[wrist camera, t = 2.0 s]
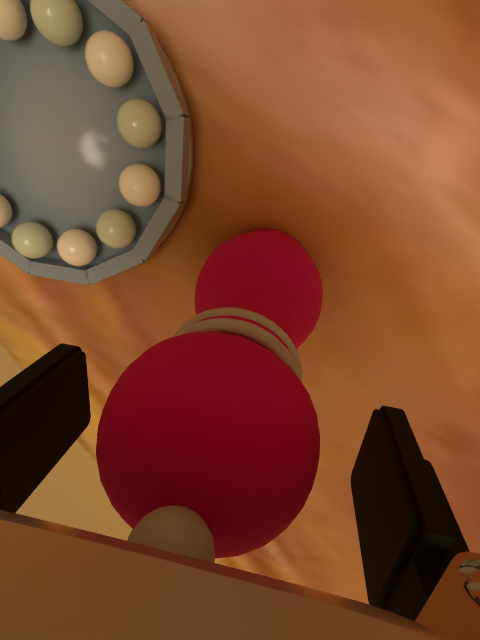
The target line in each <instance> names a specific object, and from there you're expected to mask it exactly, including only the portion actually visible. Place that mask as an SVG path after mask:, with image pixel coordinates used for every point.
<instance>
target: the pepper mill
mask: <svg viewBox="0 0 480 640" xmlns="http://www.w3.org/2000/svg"><path fill="white" fill-rule="evenodd" d="M322 293H323V291H322V282H321V279H320V275H319V272H318V270H317V268H316V266H315V264H314V262H313V261H312V259H311V258H310V256H309V255H308V254H307V252H306V251H305V249H304V248H303V247H302V245H301V244H300V243H299V242H298V241H297V240H296V239H294V238H293V237H291V236H289V235H288V234H286V233H283V232H281V231H278V230H272V229H258V230H254V231H250V232H248V233H245V234H241V235H238V236H235V237H233V238H231V239H229V240H227V241H225V242H224V243H222V244H221V245H220V246H219V247H218V248H216V249H215V250H214V251H213V252H212V254H211V255H210V256H209V257H208V259H207V261H206V262H205V264H204V266H203V268H202V270H201V272H200V274H199V276H198V280H197V284H196V291H195V311H196V315H195V316H194V317H192V318H191V319H189V320H188V321H187V322H185V323H184V324H183V325H182V326H181V327H180V328H179V330H178V331H177V332H176V334H175V336H174V337H171V338H169V339H166V340H164V341H162V342H160V343H158V344H156V345H154V346H153V347H151V348H149V349H148V350H147V351H145V352H144V353H143V354H142V355H141V356H140V357H138V358H137V359H136V360H135V361H134V362H133V363H131V364H130V365H129V367H128V368H127V369H126V370H125V371H124V372H123V373H122V375H121V376H120V378H119V379H118V381H117V382H116V384H115V385H114V387H113V389H112V390H111V392H110V394H109V396H108V399H107V401H106V404H105V406H104V408H103V411H102V415H101V418H100V422H99V425H98V433H97V445H96V457H97V463H98V469H99V474H100V480H101V483H102V485H103V487H104V489H105V491H106V493H107V496H108V498H109V500H110V502H111V504H112V506H113V507H114V508H115V510H116V511H117V512H118V514H119V515H120V516H121V518H122V519H123V520H124V521H125V522H126V523H127V524H128V525H130V527H131V528H132V529H133V530H132V532H131V533H130V535H129V538H128V540H127V541H129V542H133V543H137V544H141V545H145V546H149V547H153V548H157V549H161V550H165V551H169V552H173V553H177V554H181V555H185V556H189V557H193V558H197V559H200V560H204V561H208V562H212V563H214V561H215V558H224V557H234V556H239V555H242V554H245V553H248V552H250V551H253V550H255V549H258V548H260V547H262V546H264V545H266V544H267V543H268V542H270V541H271V540H273V539H274V538H275V537H277V536H278V535H279V534H280V533H282V532H283V531H284V530H285V529H286V528H287V527H288V526H289V525H290V524H291V522H292V521H293V520H294V519H295V517H296V516H297V515H298V513H299V512H300V511H301V510H302V508H303V507H304V505H305V502H306V500H307V498H308V496H309V494H310V492H311V490H312V486H313V483H314V479H315V476H316V472H317V467H318V462H319V454H320V434H319V427H318V420H317V414H316V411H315V409H314V406H313V403H312V401H311V398H310V395H309V393H308V392H307V390H306V388H305V387H304V385H303V384H302V382H301V378H302V367H301V361H300V358H299V355H298V353H297V350H296V349H297V348H298V347H299V346H300V345H301V344H302V343H303V342H304V341H305V340H306V338H307V337H308V336H309V334H310V333H311V332H312V330H313V329H314V327H315V325H316V323H317V321H318V318H319V315H320V311H321V305H322Z"/></svg>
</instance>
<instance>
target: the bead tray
mask: <svg viewBox="0 0 480 640" xmlns="http://www.w3.org/2000/svg"><path fill="white" fill-rule="evenodd" d="M193 169H194V136H193V127H192V120H191V116H190V111H189V107H188V103H187V99H186V96H185V93H184V90H183V87H182V85H181V82H180V79H179V77H178V75H177V73H176V70H175V68H174V66H173V64H172V62H171V60H170V58H169V56H168V55H167V53H166V52H165V50H164V48H163V47H162V45H161V44H160V42H159V40H158V38H157V36H156V33H155V31H154V29H153V28H152V27H151V25H150V24H149V23H148V22H147V21H146V20H145V19H143V18H142V17H141V16H140V15H139V14H138V13H136V12H135V11H134V10H133V9H132V8H131V7H129V6H128V5H127V4H126V3H125V2H124V1H122V0H0V254H1V255H2V256H4V257H5V258H6V259H8V260H9V261H11V262H12V263H13V264H15V265H16V266H18V267H19V268H20V269H22V270H23V271H25V272H26V273H28V274H29V273H30V275H34V276H40V277H46V278H52V279H57V280H63V281H69V282H75V283H80V284H86V285H90V284H94V283H96V282H99V281H101V280H103V279H106V278H108V277H110V276H113V275H115V274H117V273H120V272H122V271H124V270H127V269H129V268H131V267H134V266H136V265H139V264H141V263H143V262H145V261H147V260H148V259H150V258H151V257H152V256H153V255H154V253H155V251H156V250H157V248H158V247H159V246H160V245H161V244H162V243H163V242H164V241H165V240H166V239H167V237H168V236H169V235H170V233H171V232H172V231H173V229H174V228H175V226H176V224H177V222H178V220H179V219H180V217H181V215H182V213H183V210H184V207H185V205H186V202H187V200H188V196H189V192H190V188H191V184H192V178H193Z"/></svg>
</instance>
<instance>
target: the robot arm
mask: <svg viewBox="0 0 480 640" xmlns="http://www.w3.org/2000/svg"><path fill="white" fill-rule="evenodd" d="M90 418H91V414H90V402H89V390H88V377H87V365H86V355H85V353H84V352H82V350H81V348H80V347H78V346H73V345H68V344H59V345H58V346H56V347H55V348H53V349H52V350H51V351H49V352H48V353H47V354H45V355H44V356H42V357H41V358H40V359H38V360H37V361H36V362H34V363H33V364H31V365H30V366H29V367H27V368H26V369H24V370H23V371H22V372H20V373H19V374H18V375H16V376H15V377H13V378H12V379H11V380H9V381H8V382H7V383H5V384H4V385H2V386H1V387H0V640H480V554H478V553H472V552H470V551H469V549H468V547H467V544H466V542H465V540H464V538H463V535H462V533H461V531H460V528H459V526H458V524H457V521H456V519H455V517H454V514H453V512H452V510H451V508H450V505H449V503H448V501H447V498H446V496H445V494H444V491H443V489H442V487H441V484H440V482H439V480H438V478H437V475H436V473H435V471H434V468H433V466H432V465H431V463H430V462H429V461H428V460H424V458H423V456H422V453H421V451H420V449H419V446H418V444H417V441H416V439H415V436H414V434H413V432H412V429H411V427H410V424H409V422H408V420H407V417H406V415H405V412H404V411H403V410H402V409H398V408H393V407H388V406H382V407H381V408H380V410H378V409H375V410H374V411H373V413H372V416H371V419H370V422H369V425H368V428H367V431H366V433H365V436H364V439H363V442H362V445H361V448H360V451H359V454H358V456H357V459H356V462H355V465H354V468H353V471H352V474H351V489H352V495H353V502H354V509H355V515H356V522H357V529H358V535H359V542H360V549H361V555H362V562H363V569H364V575H365V582H366V588H367V595H368V601H369V604H370V605H368V604H365V603H362V602H359V601H355V600H351V599H348V598H344V597H341V596H337V595H333V594H330V593H326V592H323V591H319V590H315V589H312V588H308V587H305V586H301V585H297V584H293V583H290V582H286V581H282V580H278V579H274V578H270V577H266V576H262V575H259V574H255V573H251V572H247V571H243V570H239V569H235V568H231V567H228V566H224V565H220V564H216V563H212V562H208V561H204V560H200V559H197V558H193V557H189V556H185V555H181V554H177V553H173V552H169V551H165V550H161V549H157V548H153V547H149V546H145V545H141V544H137V543H133V542H129V541H125V540H121V539H117V538H113V537H109V536H105V535H101V534H97V533H93V532H89V531H85V530H81V529H77V528H73V527H69V526H65V525H61V524H57V523H52V522H49V521H44V520H40V519H36V518H32V517H28V516H24V515H20V514H16V513H15V512H16V511H17V510H18V509H19V508H20V507H21V505H22V504H23V503H24V502H25V501H26V500H27V498H28V497H29V496H30V495H31V494H32V492H33V491H34V490H35V489H36V488H37V486H38V485H39V484H40V483H41V482H42V480H43V479H44V478H45V477H46V476H47V474H48V473H49V472H50V471H51V470H52V468H53V467H54V466H55V465H56V464H57V462H58V461H59V460H60V459H61V458H62V456H63V455H64V454H65V453H66V452H67V450H68V449H69V448H70V447H71V446H72V444H73V443H74V442H75V441H76V440H77V438H78V437H79V436H80V435H81V434H82V432H83V431H84V430H85V429H86V428H87V426H88V424H89V422H90Z"/></svg>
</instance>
